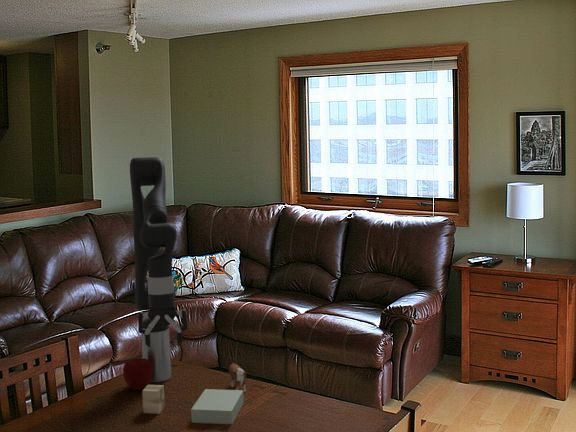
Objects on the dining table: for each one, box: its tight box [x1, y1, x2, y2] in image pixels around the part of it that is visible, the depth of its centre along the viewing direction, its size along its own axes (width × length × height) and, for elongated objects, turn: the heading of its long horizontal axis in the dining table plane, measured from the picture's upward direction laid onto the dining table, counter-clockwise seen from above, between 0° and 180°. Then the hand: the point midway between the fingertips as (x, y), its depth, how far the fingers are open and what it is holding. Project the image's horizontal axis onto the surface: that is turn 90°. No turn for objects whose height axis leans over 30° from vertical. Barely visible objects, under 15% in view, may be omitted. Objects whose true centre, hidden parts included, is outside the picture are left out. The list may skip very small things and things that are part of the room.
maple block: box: [142, 384, 166, 415], centre depth 222 cm, size 5×5×7 cm
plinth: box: [190, 388, 245, 425], centre depth 220 cm, size 16×12×4 cm
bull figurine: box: [228, 362, 248, 393], centre depth 238 cm, size 4×13×8 cm, turn 16°
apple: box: [122, 357, 153, 391], centre depth 240 cm, size 10×10×10 cm
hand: (164, 345), depth 217 cm, fingers open, 8 cm apart
